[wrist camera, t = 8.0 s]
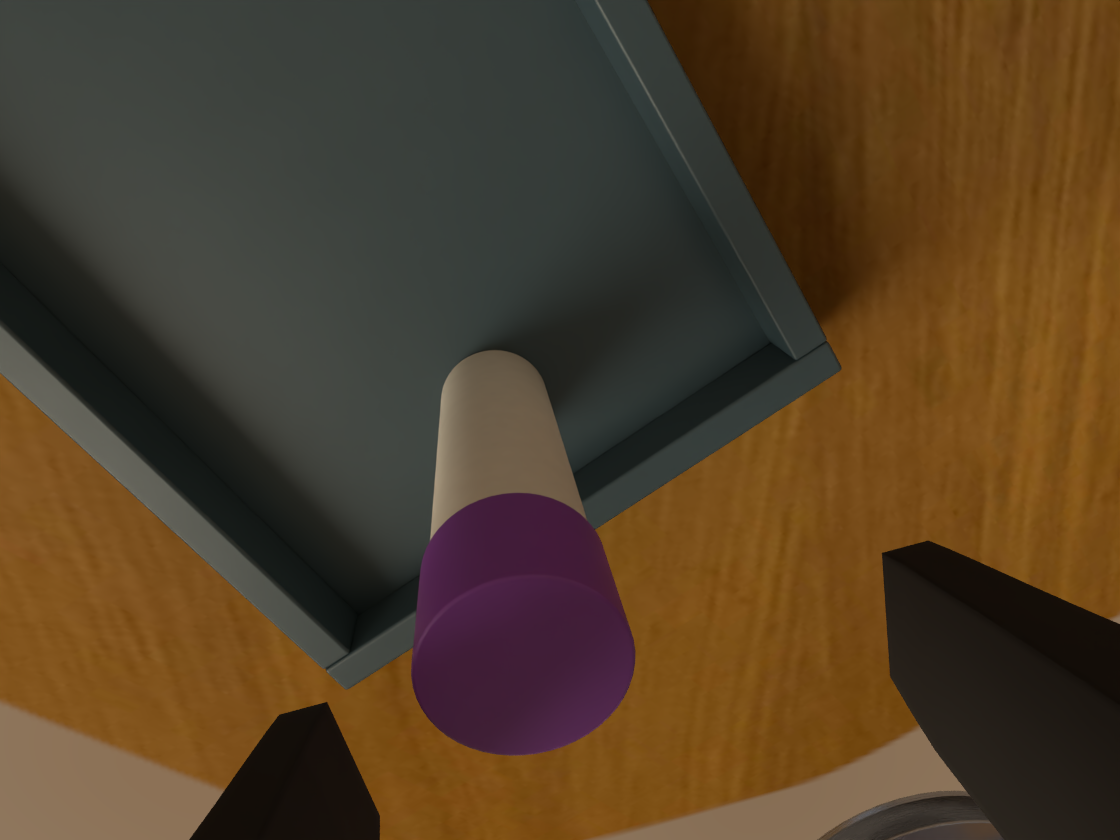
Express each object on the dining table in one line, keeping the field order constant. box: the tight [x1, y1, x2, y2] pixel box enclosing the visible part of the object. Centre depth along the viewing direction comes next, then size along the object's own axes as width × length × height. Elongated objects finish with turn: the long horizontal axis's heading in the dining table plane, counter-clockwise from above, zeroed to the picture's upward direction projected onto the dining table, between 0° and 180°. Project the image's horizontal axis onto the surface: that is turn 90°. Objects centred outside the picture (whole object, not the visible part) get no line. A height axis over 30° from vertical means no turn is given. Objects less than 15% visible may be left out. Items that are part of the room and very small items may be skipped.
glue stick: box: [411, 350, 635, 755], centre depth 13 cm, size 3×3×9 cm
